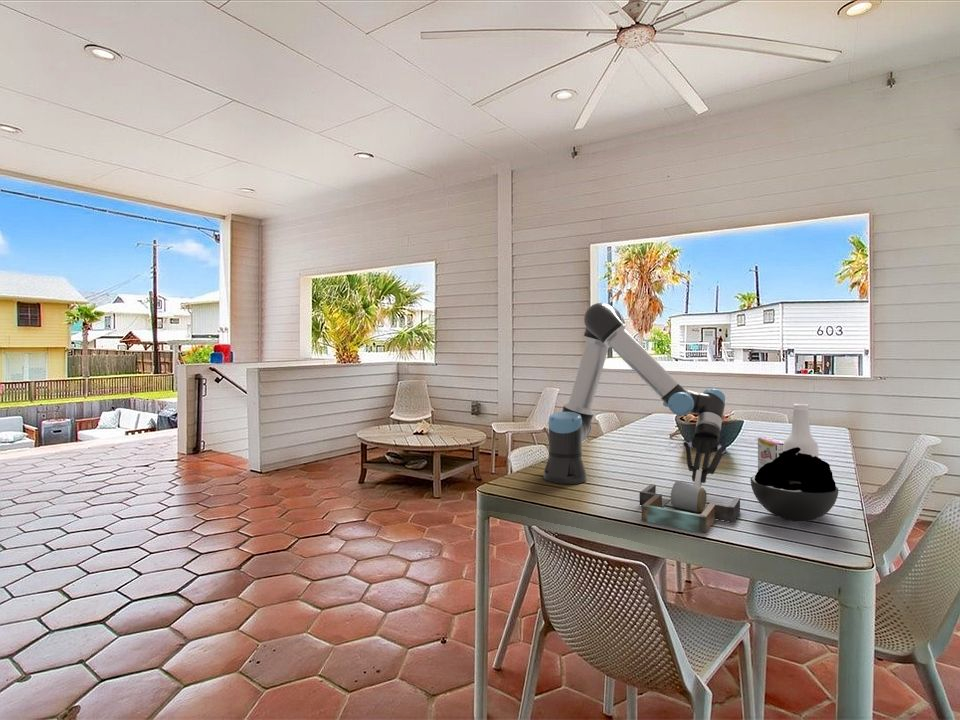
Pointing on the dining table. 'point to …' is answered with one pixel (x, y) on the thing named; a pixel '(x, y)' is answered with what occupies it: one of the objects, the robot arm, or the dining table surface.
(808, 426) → the alcohol
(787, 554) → the dining table surface
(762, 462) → the candy bar box
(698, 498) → the grey cylinder
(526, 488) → the dining table surface
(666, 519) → the box
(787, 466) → the bowl of black rocks
